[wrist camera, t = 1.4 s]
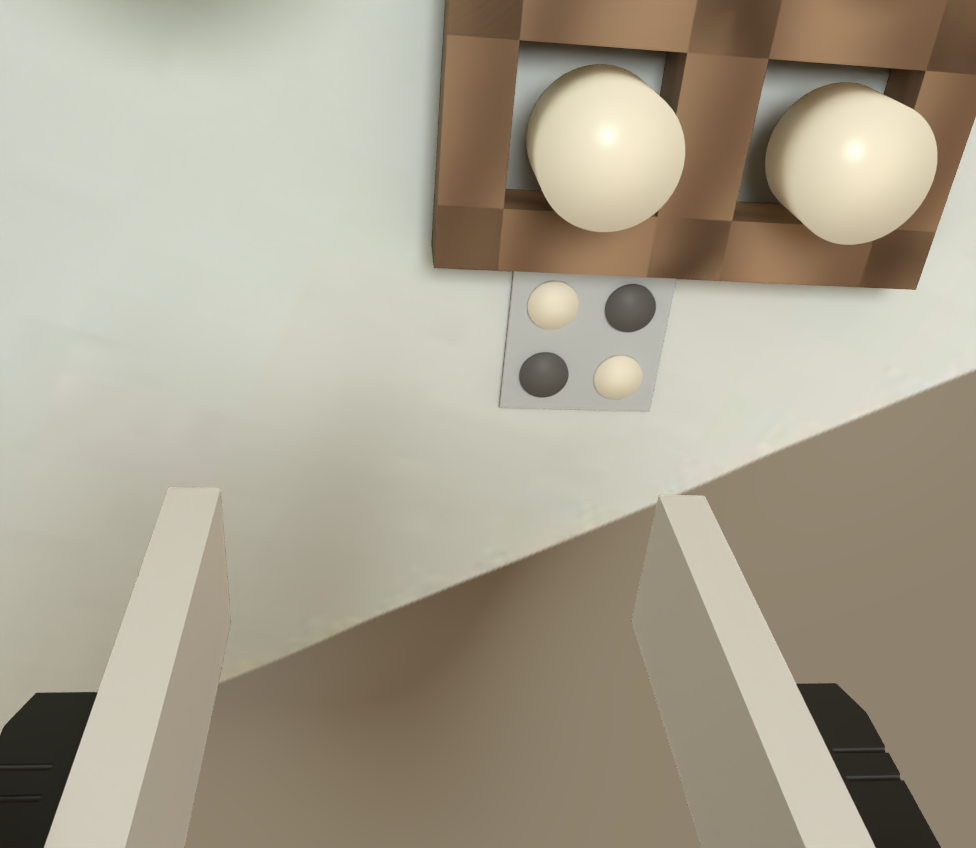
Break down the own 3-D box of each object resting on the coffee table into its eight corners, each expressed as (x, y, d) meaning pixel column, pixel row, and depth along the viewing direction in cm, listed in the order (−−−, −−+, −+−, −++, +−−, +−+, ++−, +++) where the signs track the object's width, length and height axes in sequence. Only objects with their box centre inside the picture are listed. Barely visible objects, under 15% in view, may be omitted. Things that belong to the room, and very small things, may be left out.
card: (499, 404, 43) (500, 409, 42) (514, 259, 39) (515, 264, 39) (647, 408, 44) (650, 413, 43) (676, 267, 40) (679, 272, 40)
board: (431, 244, 38) (434, 267, 36) (466, -387, 28) (472, -406, 26) (888, 266, 41) (915, 289, 39) (1074, -308, 31) (1126, -319, 28)
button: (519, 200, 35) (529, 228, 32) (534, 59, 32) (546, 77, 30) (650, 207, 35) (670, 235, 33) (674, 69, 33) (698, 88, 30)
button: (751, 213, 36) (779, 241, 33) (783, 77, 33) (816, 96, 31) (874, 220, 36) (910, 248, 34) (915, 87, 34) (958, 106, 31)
